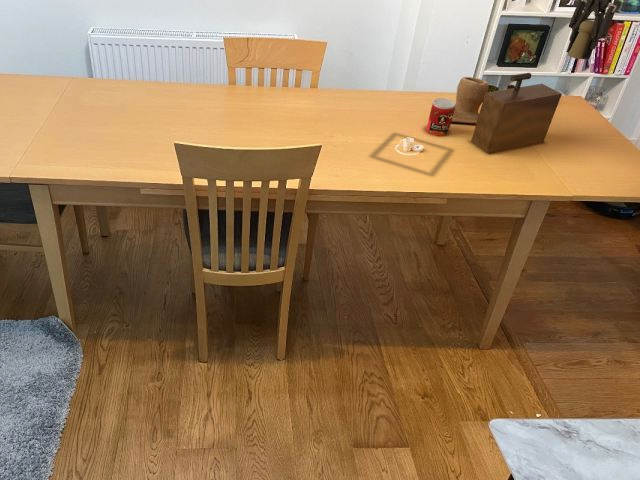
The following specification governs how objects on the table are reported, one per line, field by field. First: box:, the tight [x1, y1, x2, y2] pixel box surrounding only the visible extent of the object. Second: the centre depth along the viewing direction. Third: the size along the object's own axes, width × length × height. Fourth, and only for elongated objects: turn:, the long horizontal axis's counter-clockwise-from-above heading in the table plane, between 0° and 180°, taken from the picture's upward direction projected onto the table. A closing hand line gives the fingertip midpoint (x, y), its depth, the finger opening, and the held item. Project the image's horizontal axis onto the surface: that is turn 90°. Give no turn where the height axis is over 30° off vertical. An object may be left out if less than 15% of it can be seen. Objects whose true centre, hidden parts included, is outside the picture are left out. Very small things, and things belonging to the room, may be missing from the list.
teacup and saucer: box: [394, 137, 424, 156], centre depth 194 cm, size 9×8×4 cm
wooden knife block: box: [470, 72, 563, 155], centre depth 194 cm, size 23×24×9 cm
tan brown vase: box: [451, 76, 490, 124], centre depth 210 cm, size 15×12×15 cm
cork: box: [567, 19, 595, 60], centre depth 192 cm, size 6×6×11 cm
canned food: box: [426, 97, 456, 137], centre depth 203 cm, size 8×8×11 cm
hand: (577, 55), depth 195 cm, fingers closed on cork, 6 cm apart
